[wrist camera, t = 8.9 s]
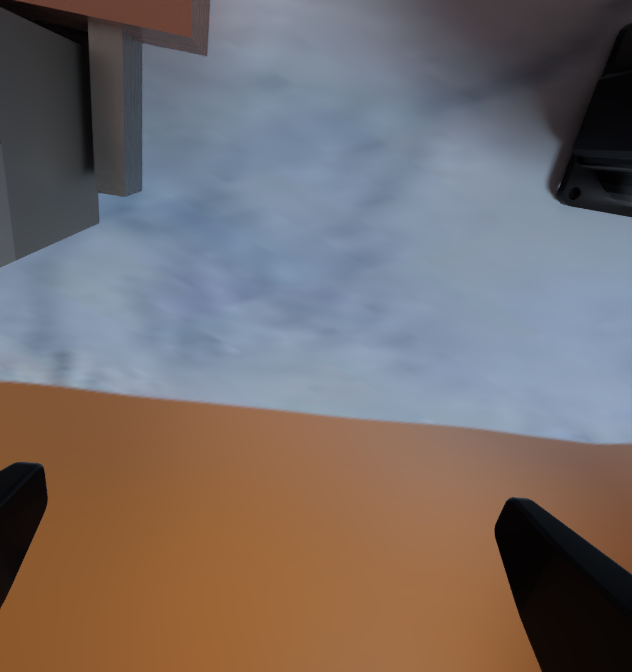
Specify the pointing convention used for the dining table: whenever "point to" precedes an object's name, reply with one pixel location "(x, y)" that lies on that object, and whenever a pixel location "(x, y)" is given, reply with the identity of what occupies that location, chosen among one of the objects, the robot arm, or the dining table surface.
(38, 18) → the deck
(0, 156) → the grey stepped block
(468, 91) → the dining table surface
